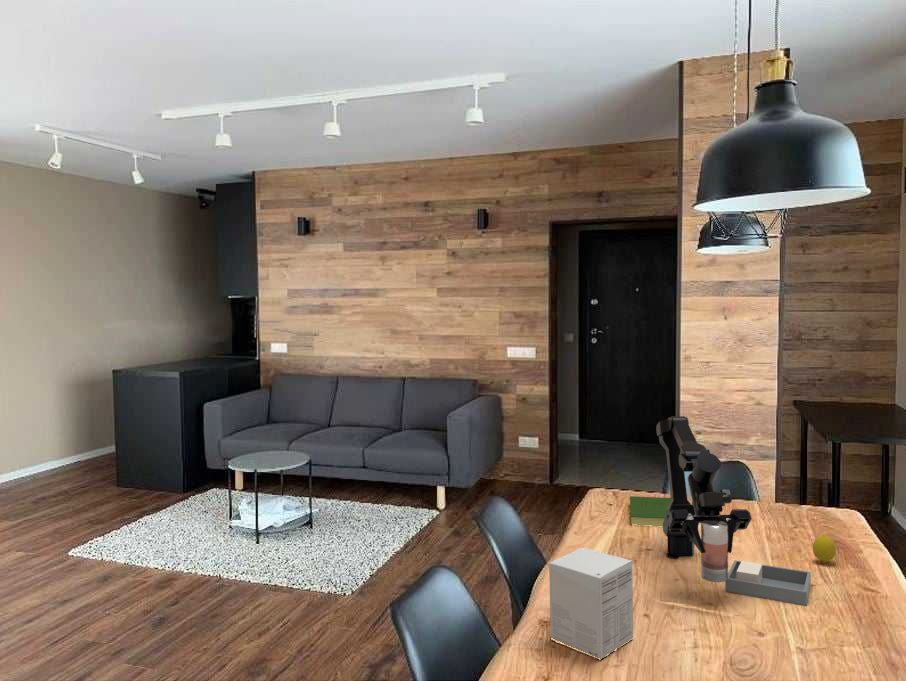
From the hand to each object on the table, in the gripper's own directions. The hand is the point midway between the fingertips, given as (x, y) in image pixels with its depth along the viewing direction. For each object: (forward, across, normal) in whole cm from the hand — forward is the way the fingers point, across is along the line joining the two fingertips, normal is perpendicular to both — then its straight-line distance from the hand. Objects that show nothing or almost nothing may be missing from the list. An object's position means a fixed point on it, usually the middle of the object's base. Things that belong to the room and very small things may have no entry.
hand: (716, 552), depth 165 cm
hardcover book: (-41, +2, +62) cm, 74 cm away
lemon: (-11, +38, +30) cm, 49 cm away
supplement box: (+22, -32, -3) cm, 38 cm away
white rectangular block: (0, +12, +18) cm, 21 cm away
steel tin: (+4, 0, +6) cm, 7 cm away
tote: (+3, +16, +16) cm, 23 cm away
